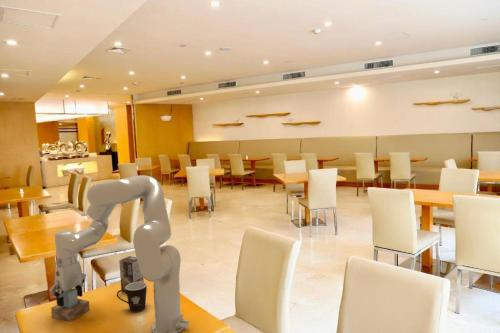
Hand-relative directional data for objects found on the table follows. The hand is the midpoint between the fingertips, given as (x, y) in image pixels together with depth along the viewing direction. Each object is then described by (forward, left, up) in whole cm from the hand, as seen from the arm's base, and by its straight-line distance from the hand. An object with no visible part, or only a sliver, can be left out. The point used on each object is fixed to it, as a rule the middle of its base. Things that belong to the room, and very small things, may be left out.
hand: (70, 300), depth 152 cm
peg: (0, 0, -6) cm, 6 cm away
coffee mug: (-22, -13, -6) cm, 26 cm away
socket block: (0, 0, -6) cm, 6 cm away
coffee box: (-11, -25, -6) cm, 28 cm away
